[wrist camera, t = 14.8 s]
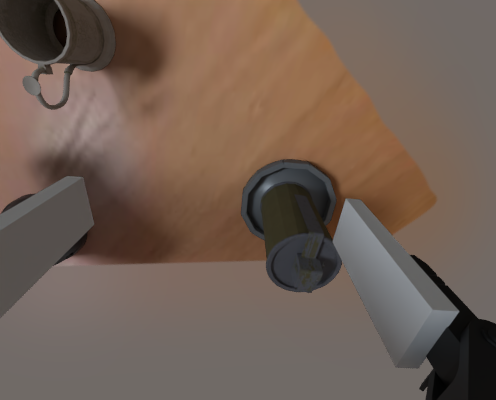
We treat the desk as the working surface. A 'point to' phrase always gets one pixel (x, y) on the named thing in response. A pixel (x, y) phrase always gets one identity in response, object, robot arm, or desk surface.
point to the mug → (45, 41)
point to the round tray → (286, 172)
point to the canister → (296, 240)
